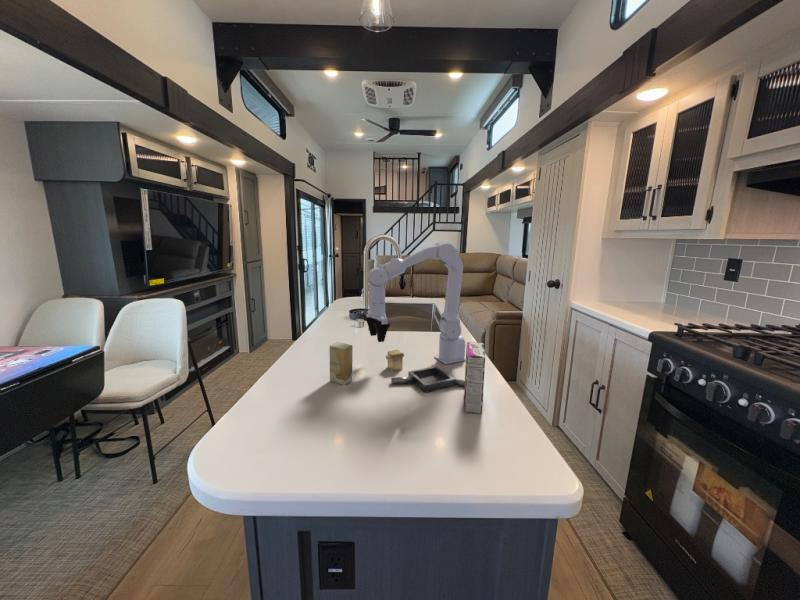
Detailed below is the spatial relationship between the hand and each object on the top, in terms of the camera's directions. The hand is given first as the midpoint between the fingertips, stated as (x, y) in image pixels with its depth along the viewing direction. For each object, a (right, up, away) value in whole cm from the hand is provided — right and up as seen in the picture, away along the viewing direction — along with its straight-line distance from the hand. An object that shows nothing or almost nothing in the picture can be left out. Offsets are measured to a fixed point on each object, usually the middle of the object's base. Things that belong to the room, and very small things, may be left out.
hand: (377, 338), depth 116 cm
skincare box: (-11, -12, -13) cm, 21 cm away
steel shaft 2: (+29, -13, -16) cm, 35 cm away
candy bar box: (+29, -16, -26) cm, 42 cm away
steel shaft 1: (+9, -13, -14) cm, 21 cm away
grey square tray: (+18, -13, -13) cm, 26 cm away
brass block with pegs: (+7, -10, -3) cm, 12 cm away
